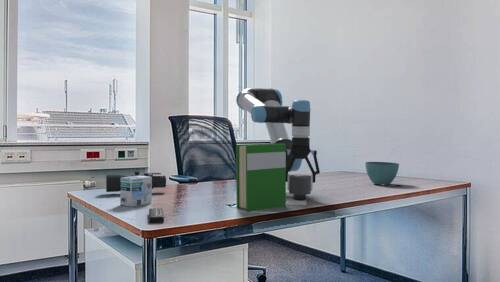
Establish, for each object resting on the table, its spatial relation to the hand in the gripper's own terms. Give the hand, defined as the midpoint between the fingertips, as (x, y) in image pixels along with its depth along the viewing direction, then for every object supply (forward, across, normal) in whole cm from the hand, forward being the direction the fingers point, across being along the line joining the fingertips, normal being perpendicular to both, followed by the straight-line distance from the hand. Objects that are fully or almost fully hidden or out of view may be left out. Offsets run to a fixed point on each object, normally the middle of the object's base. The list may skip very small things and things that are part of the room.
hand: (299, 190), depth 172 cm
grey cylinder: (+1, 0, 0) cm, 1 cm away
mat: (+4, -3, -5) cm, 7 cm away
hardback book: (+4, -14, -20) cm, 25 cm away
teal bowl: (+5, +46, +65) cm, 80 cm away
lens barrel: (+4, 0, 0) cm, 4 cm away
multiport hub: (+5, -47, -45) cm, 65 cm away
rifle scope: (+5, -74, +4) cm, 75 cm away
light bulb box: (+5, -63, -22) cm, 67 cm away
